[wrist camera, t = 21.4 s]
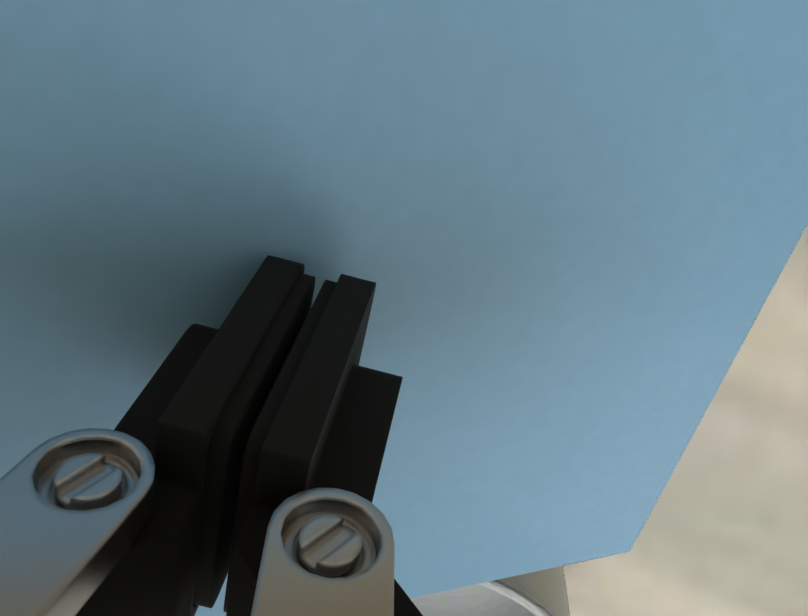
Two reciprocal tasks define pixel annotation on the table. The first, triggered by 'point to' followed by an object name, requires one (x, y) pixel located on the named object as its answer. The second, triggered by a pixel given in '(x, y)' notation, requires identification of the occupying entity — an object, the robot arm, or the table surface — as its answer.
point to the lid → (414, 230)
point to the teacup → (502, 597)
